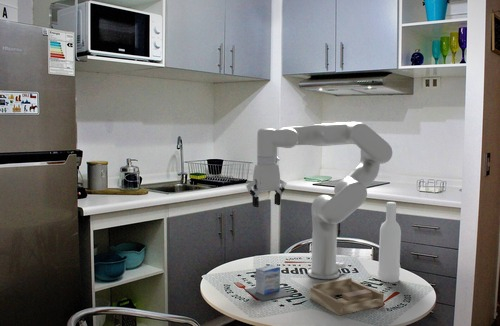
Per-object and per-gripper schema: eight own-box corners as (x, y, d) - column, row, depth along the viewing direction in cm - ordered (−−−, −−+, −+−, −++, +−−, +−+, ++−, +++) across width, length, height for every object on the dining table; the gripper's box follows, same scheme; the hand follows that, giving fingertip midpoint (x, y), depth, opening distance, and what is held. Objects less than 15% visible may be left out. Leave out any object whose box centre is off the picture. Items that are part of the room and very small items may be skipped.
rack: (352, 290, 181) (352, 277, 181) (383, 305, 167) (383, 290, 167) (310, 299, 172) (310, 284, 172) (339, 315, 159) (339, 300, 158)
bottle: (391, 284, 189) (394, 205, 186) (373, 279, 194) (376, 202, 192) (403, 280, 194) (406, 203, 191) (385, 274, 200) (388, 200, 197)
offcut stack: (367, 301, 171) (368, 288, 170) (375, 305, 168) (375, 291, 167) (334, 308, 164) (335, 295, 164) (341, 312, 161) (342, 298, 160)
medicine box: (263, 295, 174) (264, 271, 173) (255, 292, 177) (255, 268, 177) (280, 290, 179) (280, 266, 178) (271, 287, 183) (271, 263, 182)
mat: (274, 285, 186) (274, 284, 186) (292, 295, 175) (292, 294, 175) (245, 290, 180) (245, 289, 180) (262, 301, 170) (262, 300, 170)
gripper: (280, 159, 198) (280, 202, 200) (242, 161, 190) (242, 206, 191) (291, 161, 192) (291, 205, 193) (252, 163, 183) (251, 209, 185)
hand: (266, 205), depth 192 cm, fingers open, 9 cm apart
